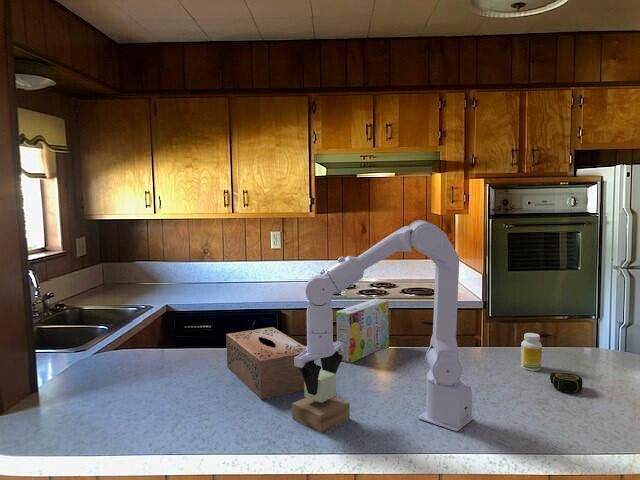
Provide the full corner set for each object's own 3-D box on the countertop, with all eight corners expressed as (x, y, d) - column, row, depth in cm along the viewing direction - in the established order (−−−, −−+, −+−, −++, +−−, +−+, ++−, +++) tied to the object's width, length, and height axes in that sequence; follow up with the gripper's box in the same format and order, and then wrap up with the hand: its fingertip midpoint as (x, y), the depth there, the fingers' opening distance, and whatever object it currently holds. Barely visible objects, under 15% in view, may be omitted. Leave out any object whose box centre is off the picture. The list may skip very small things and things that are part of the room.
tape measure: (578, 386, 131) (578, 372, 130) (585, 396, 124) (586, 382, 124) (549, 384, 132) (550, 370, 132) (554, 394, 126) (555, 379, 125)
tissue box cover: (313, 389, 131) (312, 351, 130) (260, 400, 124) (259, 361, 123) (273, 359, 153) (272, 326, 152) (227, 368, 146) (226, 334, 145)
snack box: (375, 342, 168) (375, 297, 166) (389, 345, 164) (389, 300, 163) (335, 360, 152) (335, 310, 150) (351, 364, 148) (351, 313, 146)
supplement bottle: (516, 365, 145) (517, 332, 144) (533, 363, 146) (534, 331, 145) (528, 372, 140) (529, 338, 139) (545, 370, 141) (546, 336, 140)
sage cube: (336, 395, 114) (335, 373, 113) (321, 402, 110) (321, 380, 110) (319, 389, 117) (319, 368, 117) (304, 396, 113) (304, 374, 113)
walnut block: (349, 420, 113) (349, 402, 113) (320, 434, 107) (320, 415, 107) (321, 407, 120) (320, 391, 119) (292, 420, 114) (292, 403, 113)
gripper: (327, 320, 120) (327, 376, 121) (283, 334, 109) (284, 395, 111) (351, 325, 115) (351, 383, 117) (307, 340, 105) (308, 404, 106)
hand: (320, 389), depth 113 cm, fingers closed on sage cube, 5 cm apart
